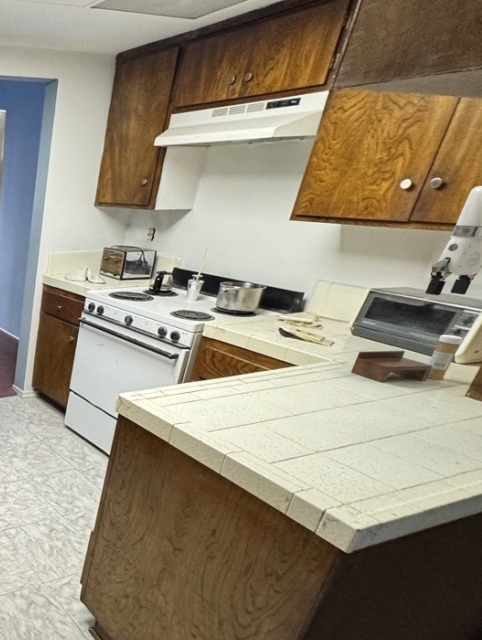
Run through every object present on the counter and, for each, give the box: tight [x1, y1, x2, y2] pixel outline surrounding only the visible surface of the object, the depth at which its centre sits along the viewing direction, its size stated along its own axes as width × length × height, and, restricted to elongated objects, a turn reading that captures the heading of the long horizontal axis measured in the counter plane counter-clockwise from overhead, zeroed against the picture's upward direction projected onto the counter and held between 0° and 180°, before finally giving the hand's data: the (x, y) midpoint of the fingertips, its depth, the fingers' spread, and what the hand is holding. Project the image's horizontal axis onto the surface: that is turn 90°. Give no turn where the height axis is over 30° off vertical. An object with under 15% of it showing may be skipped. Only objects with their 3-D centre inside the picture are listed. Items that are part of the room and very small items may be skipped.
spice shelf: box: [350, 350, 432, 383], centre depth 146 cm, size 9×16×7 cm, turn 98°
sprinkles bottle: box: [426, 334, 464, 381], centre depth 144 cm, size 5×5×13 cm
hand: (444, 294), depth 138 cm, fingers open, 9 cm apart
